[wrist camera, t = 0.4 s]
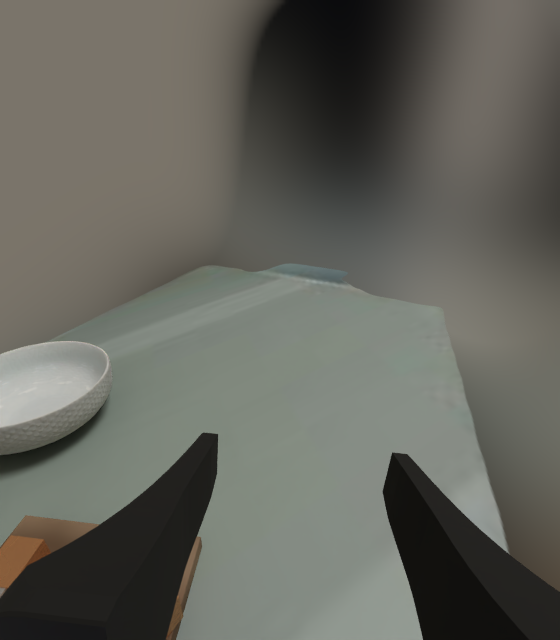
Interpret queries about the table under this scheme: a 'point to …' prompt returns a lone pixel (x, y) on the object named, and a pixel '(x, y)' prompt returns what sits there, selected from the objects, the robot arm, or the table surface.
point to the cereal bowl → (50, 392)
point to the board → (68, 531)
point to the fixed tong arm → (19, 557)
